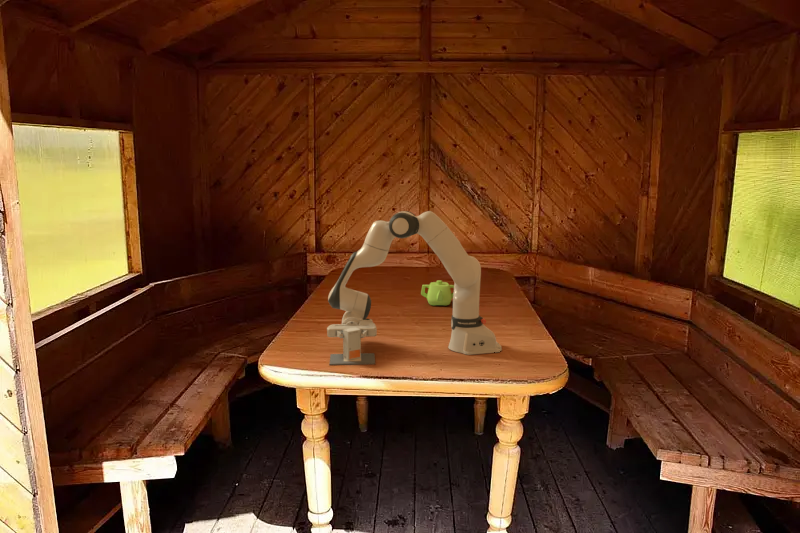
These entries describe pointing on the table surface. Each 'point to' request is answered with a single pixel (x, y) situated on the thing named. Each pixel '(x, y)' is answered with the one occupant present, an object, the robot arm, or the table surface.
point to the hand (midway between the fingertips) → (351, 336)
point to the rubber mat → (365, 359)
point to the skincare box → (351, 343)
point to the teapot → (438, 293)
